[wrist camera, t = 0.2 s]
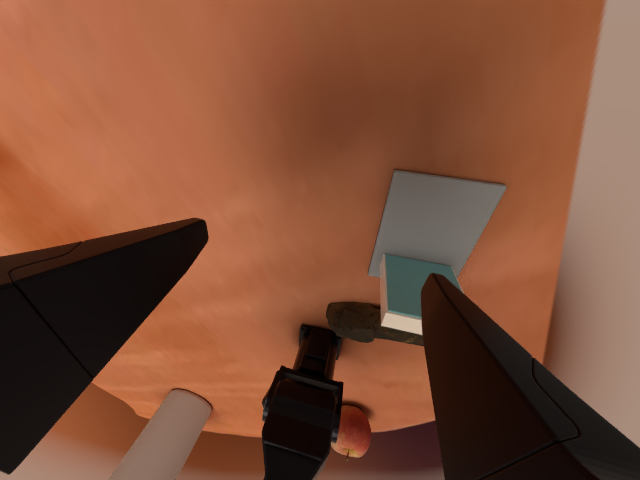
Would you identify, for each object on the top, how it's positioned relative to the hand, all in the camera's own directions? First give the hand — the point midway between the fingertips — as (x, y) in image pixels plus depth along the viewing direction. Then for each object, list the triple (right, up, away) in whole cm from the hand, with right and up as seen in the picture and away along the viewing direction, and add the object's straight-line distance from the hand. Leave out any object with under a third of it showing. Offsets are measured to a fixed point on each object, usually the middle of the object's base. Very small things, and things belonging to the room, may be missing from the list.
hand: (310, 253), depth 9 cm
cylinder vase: (-35, -44, +54) cm, 77 cm away
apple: (+7, -33, +37) cm, 50 cm away
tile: (+10, -2, +15) cm, 19 cm away
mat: (+11, +1, +14) cm, 18 cm away
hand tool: (+11, -9, +21) cm, 25 cm away
